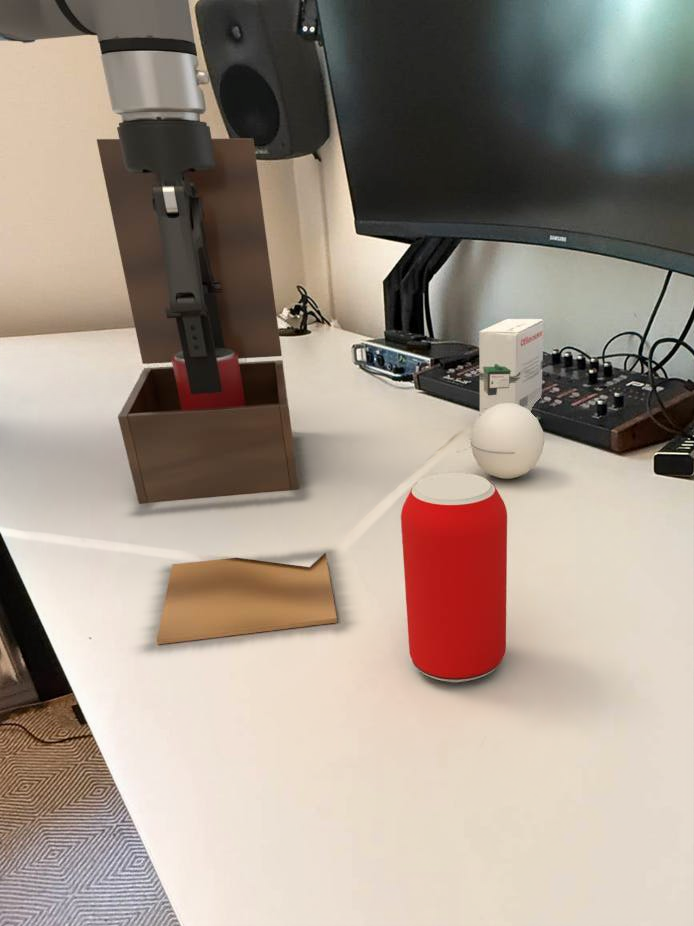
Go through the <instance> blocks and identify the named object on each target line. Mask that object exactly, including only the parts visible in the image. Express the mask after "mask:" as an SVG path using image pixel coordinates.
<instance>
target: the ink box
mask: <svg viewBox="0 0 694 926" xmlns="http://www.w3.org/2000/svg"><path fill="white" fill-rule="evenodd" d="M544 332H545V321H544V319H542V318H506V319H504V320H502V321H500V322H497V323H494V324H492V325H490V326H488V327H486V328H484V329H482V330H481V329H480V330H479V331H478V337H479V338H478V346H479V348H478V349H479V351H478V352H479V361H478V362H479V366H478V367H479V372H478V373H479V417H480V416H481V415H482V414H483V413H484V412H485V411H486V410H487V409H489V408H491V407H493V406H496V405H498V404H501V403H514V404H518V405H520V406H522V407H524V408H526V409H528V410H529V411H530V412H531V410H532V407H533V406H534V404H535V403H536V402H537V401H538V400H539V399H540V398H541V399H542V397H541V396H543V395H542V393H543V392H542V391H543V361H544V337H545V335H544V334H545V333H544ZM536 418H537V419H538V421H539V420H541V418H542V416H541V417H538V416H537V417H536Z"/></svg>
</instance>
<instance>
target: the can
mask: <svg viewBox="0 0 694 926" xmlns="http://www.w3.org/2000/svg"><path fill="white" fill-rule="evenodd" d="M215 353H216V358H217V364H218V369H219V375H220V380H221V386H222V392H215V393H201V394H191V391H190V386H189V381H188V376H187V371H186V366H185V361H184V356H183V351H182V352H179V353H176V354H175V355H174V357H173V358H172V362H171V365H172V366H173V369H174V374H175V379H176V384H177V389H178V394H179V399H180V404H181V409H182V410H192V409H207V408H222V407H236V406H246V404H245V398H244V391H243V385H242V379H241V372H240V366H239V360H238V354H237V353H235V352H234V351H233V350H231V349H226V348H215Z"/></svg>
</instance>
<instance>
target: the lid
mask: <svg viewBox="0 0 694 926" xmlns="http://www.w3.org/2000/svg"><path fill="white" fill-rule="evenodd" d="M211 139H212V145H213V151H214V157H215V164H216V165H215V168H214V170H212V171H206V172H188V176H189V180H190V183H194V186H195V187H196V191H197V193H196V196H201V199H202V203H203V210H204V218H203V220H204V225H205V230H206V241H205V242H206V247H207V252H208V257H209V262H210V266H211V271H212V274H213V275H214V281H213V282H216V281H220V284H221V291H222V292H218V293H209V294H216V300H217V306H218V311H219V317H220V323H221V329H222V334H223V340H224V346H225V348H226V349H231V350H233V351H234V352H235V353H237V354H238V359H240V358H246V359H254V358H255V359H257V358H271V357H272V358H273V357H275V358H276V357H282V356H283V354H282V345H281V337H280V331H279V323H278V315H277V308H276V300H275V294H274V292H275V291H274V285H273V277H272V271H271V263H270V253H269V245H268V239H267V232H266V225H265V217H264V208H263V201H262V194H261V186H260V185H261V184H260V177H259V170H258V164H257V156H256V147H255V142H254V141H255V140H254V138H253V137H252V138H249V137H248V138H247V137H245V138H240V137H239V138H238V137H237V138H211ZM96 144H97V148H98V154H99V159H100V163H101V168H102V173H103V177H104V178H103V179H104V182H105V183H104V184H105V188H106V192H107V198H108V203H109V207H110V212H111V216H112V217H111V218H112V222H113V227H114V232H115V237H116V242H117V247H118V251H119V255H120V260H121V266H122V270H123V276H124V280H125V285H126V290H127V294H128V299H129V304H130V309H131V314H132V319H133V324H134V328H135V329H134V330H135V333H136V334H135V335H136V339H137V344H138V348H139V354H140V357H141V358H140V359H141V363H142V364H143V365H150V364H169V363H172V358H173V357H174V355H175V354H176V353H179V352H182V346H181V341H180V336H179V331H178V326H177V321H176V318H167V316H166V311H165V307H170V294H169V287H168V281H167V274H166V268H165V261H164V254H163V248H162V241H161V238H160V235H159V227H158V221H157V219H156V216H155V213H154V209H153V202H152V198H153V196H152V191H153V186H158V184H157V176H156V173H131V172H129V171H128V170H127V169H126V167H125V163H124V158H123V154H122V149H121V144H120V140H119V138H97V139H96Z"/></svg>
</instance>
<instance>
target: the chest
mask: <svg viewBox="0 0 694 926" xmlns="http://www.w3.org/2000/svg"><path fill="white" fill-rule="evenodd" d="M239 366H240V372H241V379H242V385H243V391H244V398H245V404H246V406H236V407H222V408H207V409H192V410H182V409H181V404H180V399H179V394H178V389H177V384H176V379H175V374H174V369H173V365H172V366H156V367H144V368H143V370H142V371H141V373H140V374H139V377H138V379H137V380H136V382H135V384H134V386H133V388H132V390H131V392H130V393H129V395H128V397H127V399H126V401H125V403H124V405H123V407H122V408H121V410H120V412H119V414H118V416H117V420H118V423H119V429H120V432H121V436H122V440H123V445H124V447H125V448H124V449H125V452H126V456H127V461H128V464H129V465H128V466H129V470H130V474H131V477H132V481H133V487H134V489H135V494H136V498H137V502H138V504H139V505H142V504H152V503H163V502H175V501H186V500H196V499H206V498H207V499H209V498H220V497H231V496H241V495H253V494H264V493H265V494H266V493H276V492H287V491H298V490H300V485H299V476H298V468H297V460H296V453H295V446H294V437H293V431H292V430H293V429H292V421H291V416H290V415H291V413H290V407H289V400H288V392H287V384H286V378H285V370H284V369H285V368H284V362H283V360H282V359H279V360H278V359H277V360H261V361H246V362H241V363H239Z"/></svg>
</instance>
